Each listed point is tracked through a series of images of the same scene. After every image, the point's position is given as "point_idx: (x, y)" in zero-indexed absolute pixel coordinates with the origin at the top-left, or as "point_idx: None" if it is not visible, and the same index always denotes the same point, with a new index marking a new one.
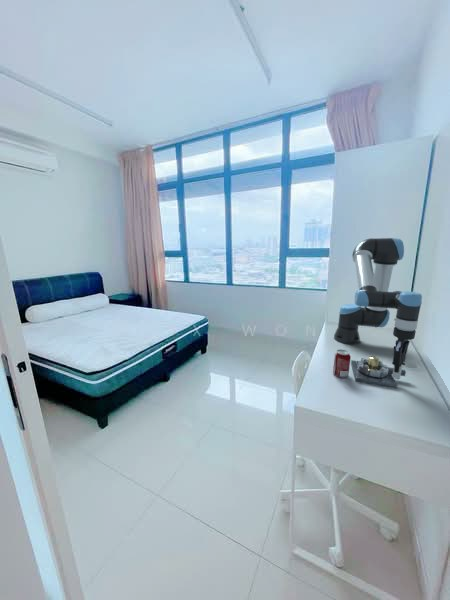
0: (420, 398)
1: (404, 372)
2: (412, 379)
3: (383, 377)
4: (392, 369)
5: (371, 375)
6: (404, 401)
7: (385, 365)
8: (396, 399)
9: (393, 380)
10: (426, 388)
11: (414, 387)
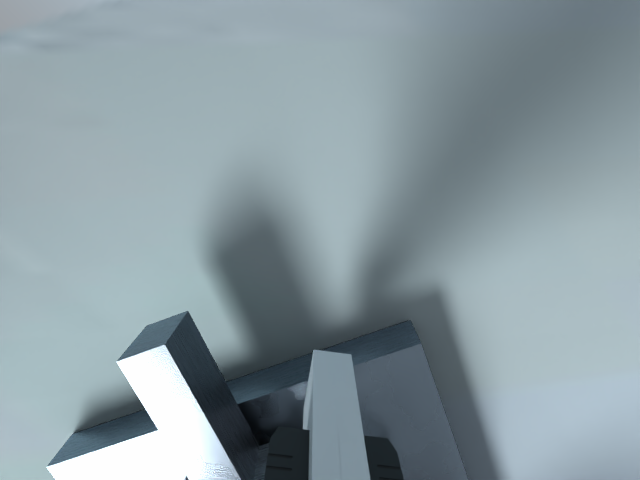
0: (463, 130)
1: (177, 347)
2: (97, 225)
3: None
4: (228, 462)
5: None
6: (603, 240)
7: (58, 475)
8: (603, 295)
9: None
10: (198, 93)
11: (267, 194)
